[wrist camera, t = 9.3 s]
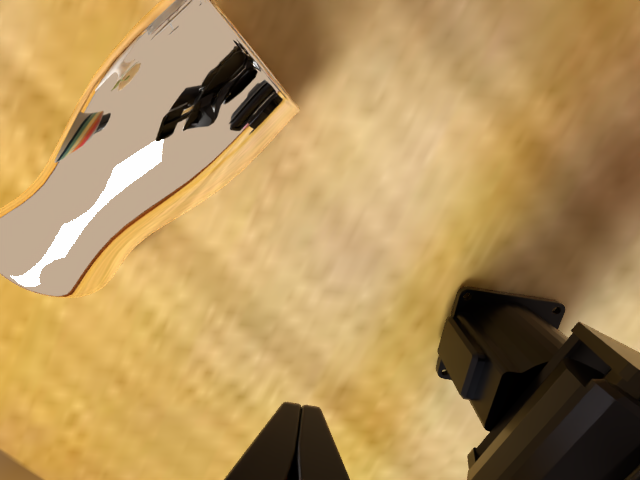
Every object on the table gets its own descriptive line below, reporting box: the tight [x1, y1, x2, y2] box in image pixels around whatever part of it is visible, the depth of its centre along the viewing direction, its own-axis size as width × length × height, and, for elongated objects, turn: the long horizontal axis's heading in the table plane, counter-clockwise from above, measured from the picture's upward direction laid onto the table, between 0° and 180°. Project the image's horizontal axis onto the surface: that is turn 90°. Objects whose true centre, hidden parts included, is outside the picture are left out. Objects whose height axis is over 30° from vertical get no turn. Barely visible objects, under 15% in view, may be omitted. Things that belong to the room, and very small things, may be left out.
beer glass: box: [0, 0, 300, 298], centre depth 16 cm, size 7×7×15 cm
